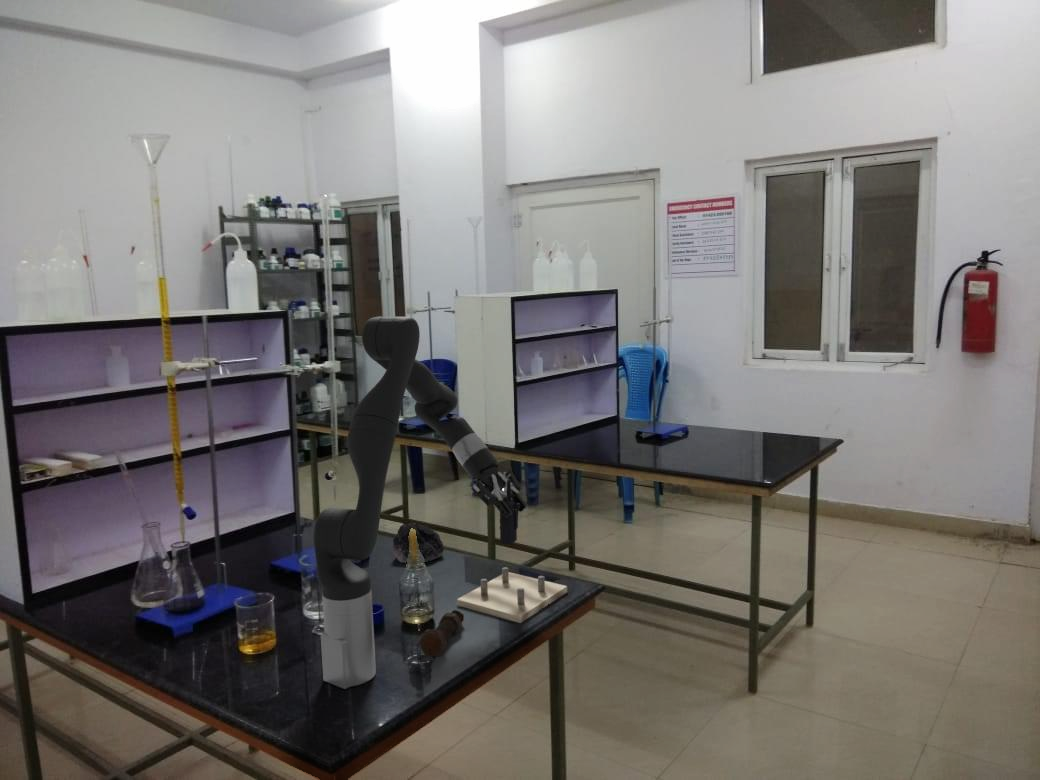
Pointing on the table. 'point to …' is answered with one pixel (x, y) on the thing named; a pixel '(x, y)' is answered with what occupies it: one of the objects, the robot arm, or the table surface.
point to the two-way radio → (509, 520)
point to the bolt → (441, 633)
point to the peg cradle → (512, 596)
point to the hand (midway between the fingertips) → (516, 512)
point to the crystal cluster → (426, 539)
